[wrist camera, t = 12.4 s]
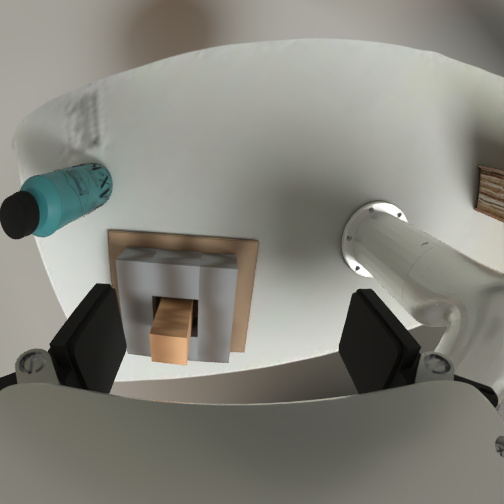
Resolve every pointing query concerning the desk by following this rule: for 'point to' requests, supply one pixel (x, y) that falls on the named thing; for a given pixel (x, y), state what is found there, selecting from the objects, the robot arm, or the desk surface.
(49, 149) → the desk surface
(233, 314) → the socket board
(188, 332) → the peg
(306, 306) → the desk surface
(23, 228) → the beverage bottle
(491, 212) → the book
